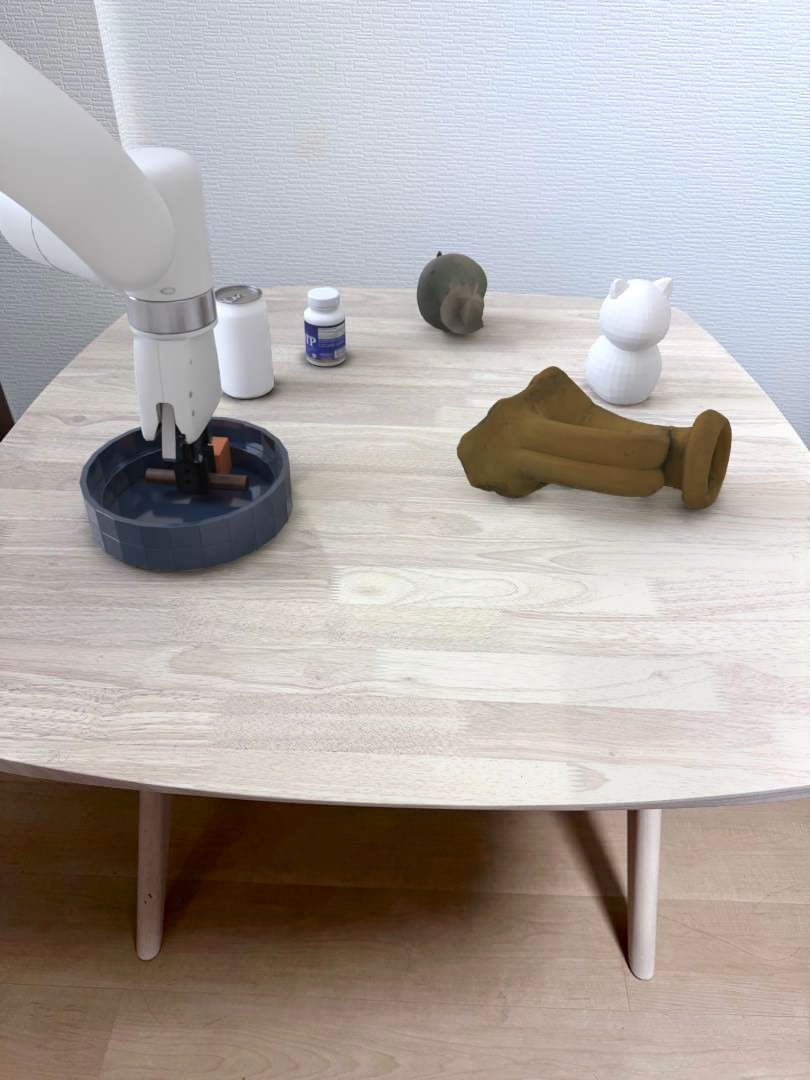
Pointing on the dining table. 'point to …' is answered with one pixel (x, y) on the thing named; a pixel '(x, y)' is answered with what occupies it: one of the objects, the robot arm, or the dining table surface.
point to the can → (243, 342)
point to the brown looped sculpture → (591, 447)
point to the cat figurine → (630, 340)
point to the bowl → (186, 501)
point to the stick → (216, 479)
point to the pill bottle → (324, 328)
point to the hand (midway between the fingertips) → (197, 485)
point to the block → (222, 454)
